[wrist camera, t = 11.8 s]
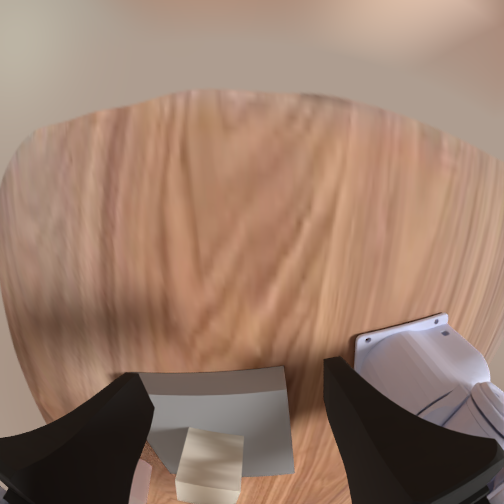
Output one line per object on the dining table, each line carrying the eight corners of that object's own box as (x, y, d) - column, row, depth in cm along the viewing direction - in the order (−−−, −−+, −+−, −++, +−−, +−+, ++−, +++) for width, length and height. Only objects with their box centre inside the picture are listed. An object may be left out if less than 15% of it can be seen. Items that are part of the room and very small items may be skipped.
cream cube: (244, 436, 19) (240, 491, 14) (237, 460, 21) (233, 509, 15) (189, 427, 19) (174, 480, 14) (188, 453, 20) (177, 500, 15)
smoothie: (160, 478, 27) (139, 550, 13) (119, 463, 27) (91, 531, 13) (162, 462, 26) (138, 545, 12) (117, 445, 25) (82, 522, 12)
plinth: (283, 365, 21) (286, 389, 18) (292, 453, 24) (294, 473, 21) (130, 372, 22) (118, 391, 19) (175, 455, 25) (170, 473, 22)
